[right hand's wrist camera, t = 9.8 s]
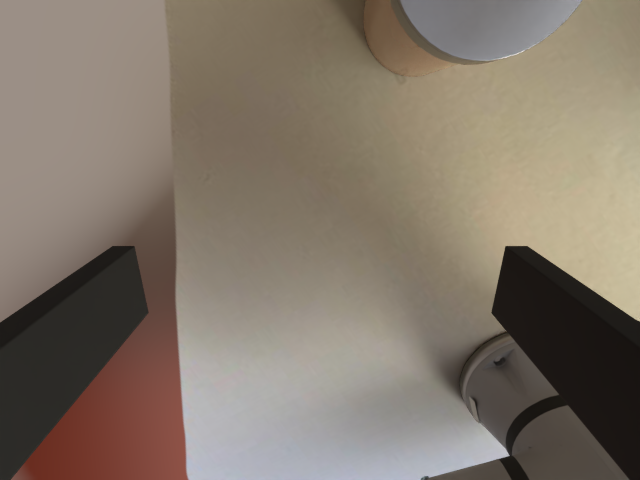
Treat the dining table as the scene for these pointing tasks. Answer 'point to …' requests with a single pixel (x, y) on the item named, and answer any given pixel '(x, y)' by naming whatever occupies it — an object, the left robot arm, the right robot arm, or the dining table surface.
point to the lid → (480, 26)
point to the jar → (396, 43)
